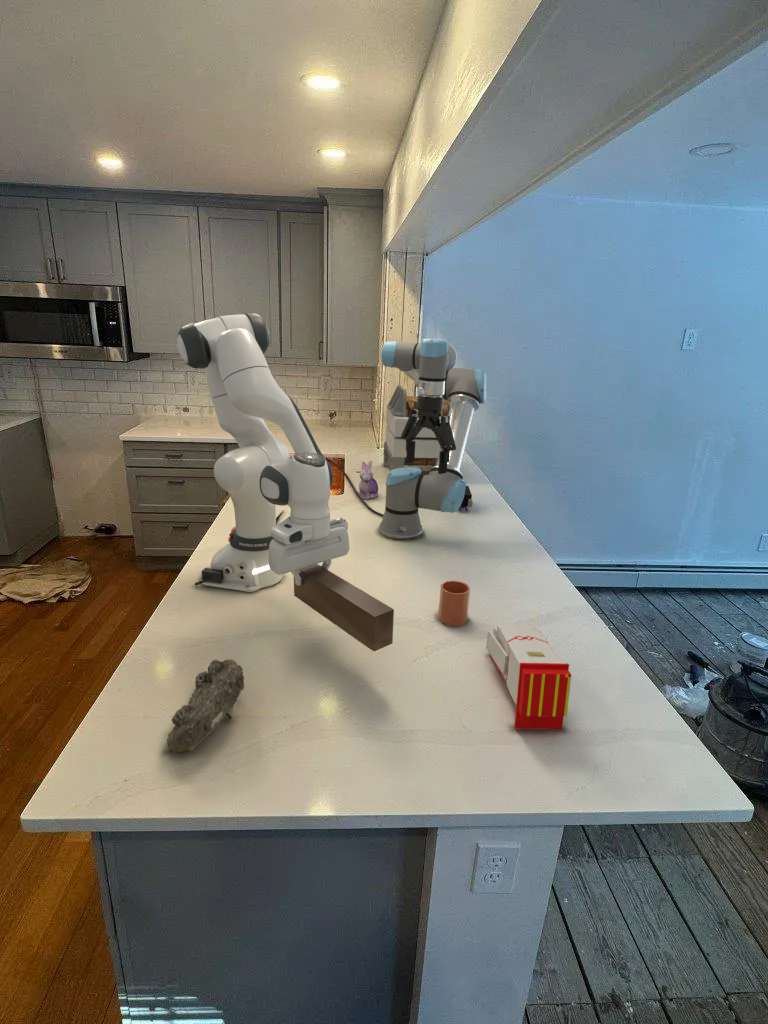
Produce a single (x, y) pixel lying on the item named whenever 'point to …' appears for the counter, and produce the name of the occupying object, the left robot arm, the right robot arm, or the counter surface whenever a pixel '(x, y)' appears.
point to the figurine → (367, 482)
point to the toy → (531, 675)
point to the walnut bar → (346, 606)
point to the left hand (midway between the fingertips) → (311, 580)
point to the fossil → (206, 705)
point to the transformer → (396, 423)
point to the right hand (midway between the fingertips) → (425, 467)
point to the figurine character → (466, 499)
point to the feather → (278, 517)
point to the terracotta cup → (453, 603)
